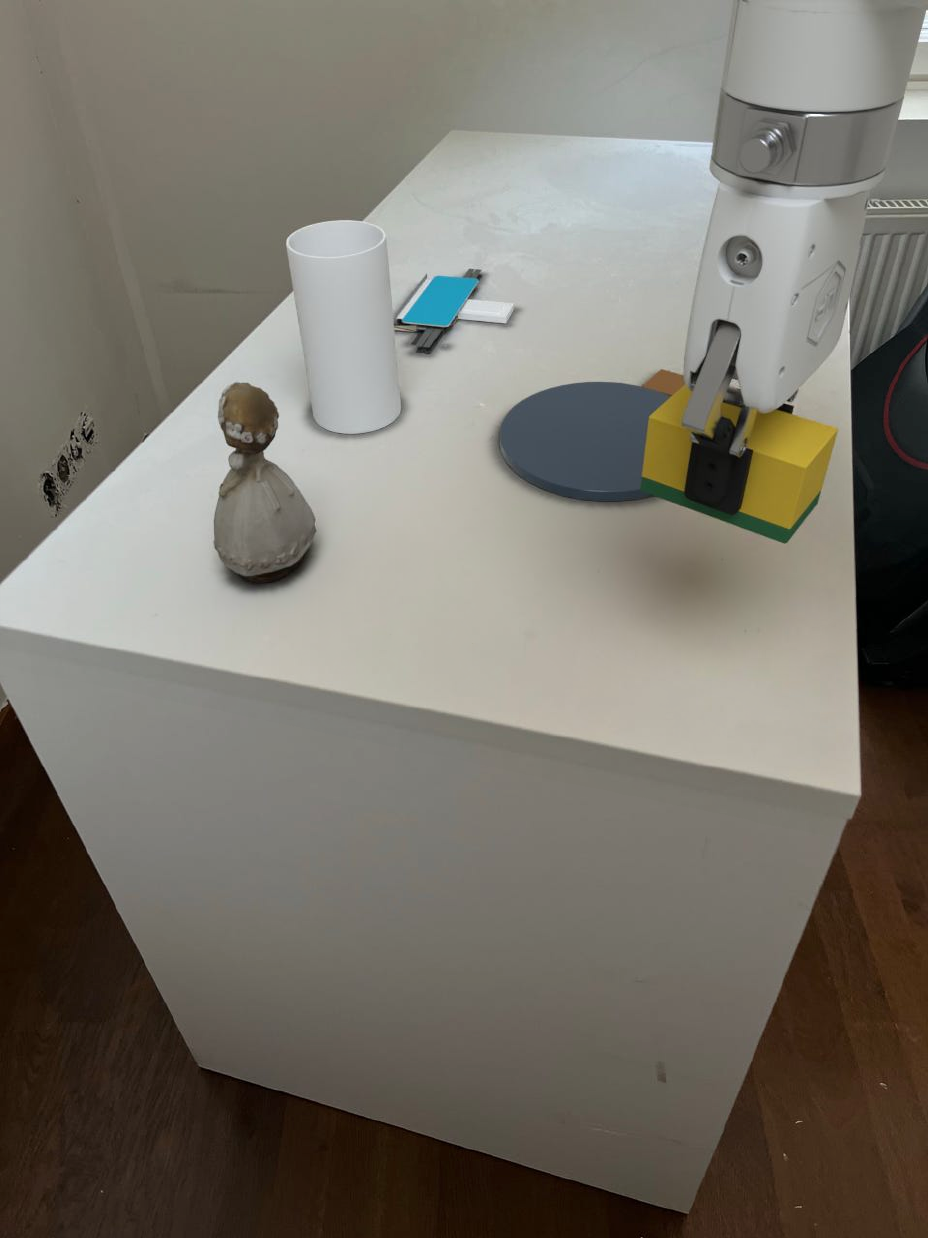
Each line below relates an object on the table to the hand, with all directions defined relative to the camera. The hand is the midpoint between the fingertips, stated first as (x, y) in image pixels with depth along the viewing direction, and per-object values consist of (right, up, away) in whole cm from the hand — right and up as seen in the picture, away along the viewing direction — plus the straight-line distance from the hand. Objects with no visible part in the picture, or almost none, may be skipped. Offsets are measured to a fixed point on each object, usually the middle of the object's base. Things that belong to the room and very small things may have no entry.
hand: (732, 478), depth 53 cm
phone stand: (-16, +26, +49) cm, 58 cm away
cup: (-25, +11, +34) cm, 44 cm away
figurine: (-30, -4, +18) cm, 35 cm away
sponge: (0, -1, +1) cm, 1 cm away
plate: (-3, +8, +29) cm, 30 cm away
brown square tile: (+4, +14, +35) cm, 38 cm away
